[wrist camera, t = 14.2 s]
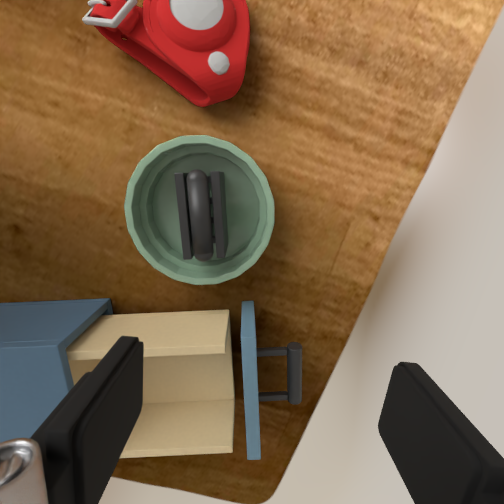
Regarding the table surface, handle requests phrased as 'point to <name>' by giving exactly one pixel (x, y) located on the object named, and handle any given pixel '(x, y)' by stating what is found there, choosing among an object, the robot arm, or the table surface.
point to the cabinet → (38, 358)
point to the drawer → (189, 378)
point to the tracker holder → (181, 42)
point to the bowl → (237, 208)
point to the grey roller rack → (202, 214)
